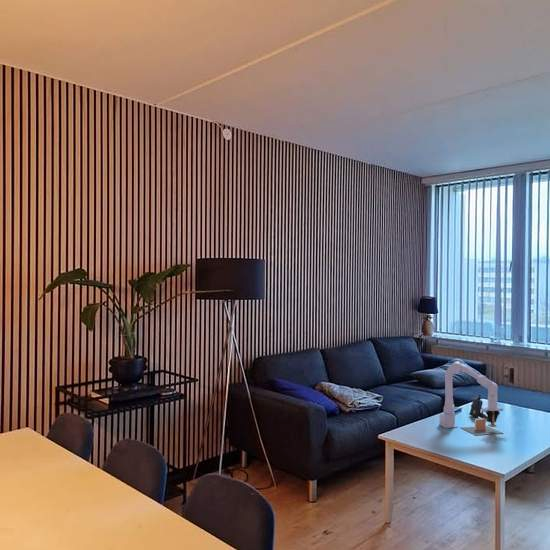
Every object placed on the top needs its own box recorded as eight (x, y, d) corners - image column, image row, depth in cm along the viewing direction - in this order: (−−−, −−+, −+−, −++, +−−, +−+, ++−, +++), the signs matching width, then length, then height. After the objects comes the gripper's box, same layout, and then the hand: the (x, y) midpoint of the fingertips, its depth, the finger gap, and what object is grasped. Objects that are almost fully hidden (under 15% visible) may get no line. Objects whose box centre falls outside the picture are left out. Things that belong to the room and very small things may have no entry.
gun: (492, 402, 339) (473, 393, 351) (486, 424, 342) (468, 414, 354) (494, 402, 340) (476, 392, 352) (488, 423, 344) (470, 413, 356)
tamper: (491, 427, 316) (491, 412, 316) (488, 425, 319) (488, 410, 319) (496, 426, 316) (496, 412, 316) (493, 425, 320) (493, 410, 320)
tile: (476, 430, 319) (476, 419, 319) (474, 429, 321) (474, 419, 321) (485, 429, 321) (485, 419, 321) (484, 428, 322) (484, 418, 322)
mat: (475, 435, 309) (475, 435, 309) (460, 428, 325) (460, 427, 325) (503, 433, 314) (503, 433, 314) (487, 426, 329) (487, 425, 329)
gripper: (486, 403, 312) (486, 424, 312) (506, 402, 316) (506, 423, 315) (479, 400, 319) (479, 421, 319) (499, 399, 322) (499, 420, 322)
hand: (492, 422), depth 318 cm, fingers closed on tamper, 2 cm apart
